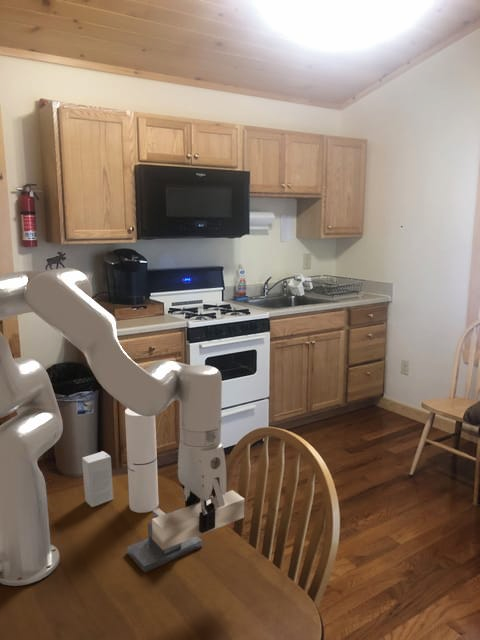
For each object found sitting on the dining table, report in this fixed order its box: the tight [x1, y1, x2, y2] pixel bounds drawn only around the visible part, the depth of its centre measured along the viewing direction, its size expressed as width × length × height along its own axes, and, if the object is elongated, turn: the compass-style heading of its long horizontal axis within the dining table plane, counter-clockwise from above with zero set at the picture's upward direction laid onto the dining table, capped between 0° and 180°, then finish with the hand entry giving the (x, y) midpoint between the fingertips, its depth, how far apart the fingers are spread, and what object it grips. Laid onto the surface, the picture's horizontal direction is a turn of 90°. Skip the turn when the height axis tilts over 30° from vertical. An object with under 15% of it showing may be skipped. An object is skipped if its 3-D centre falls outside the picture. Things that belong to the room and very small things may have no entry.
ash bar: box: [151, 489, 246, 550], centre depth 98 cm, size 18×4×4 cm, turn 127°
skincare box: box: [81, 450, 114, 508], centre depth 131 cm, size 6×4×12 cm
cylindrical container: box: [124, 407, 159, 514], centre depth 128 cm, size 7×7×25 cm
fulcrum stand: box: [126, 507, 203, 574], centre depth 112 cm, size 14×8×8 cm, turn 128°
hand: (200, 523), depth 99 cm, fingers closed on ash bar, 4 cm apart
